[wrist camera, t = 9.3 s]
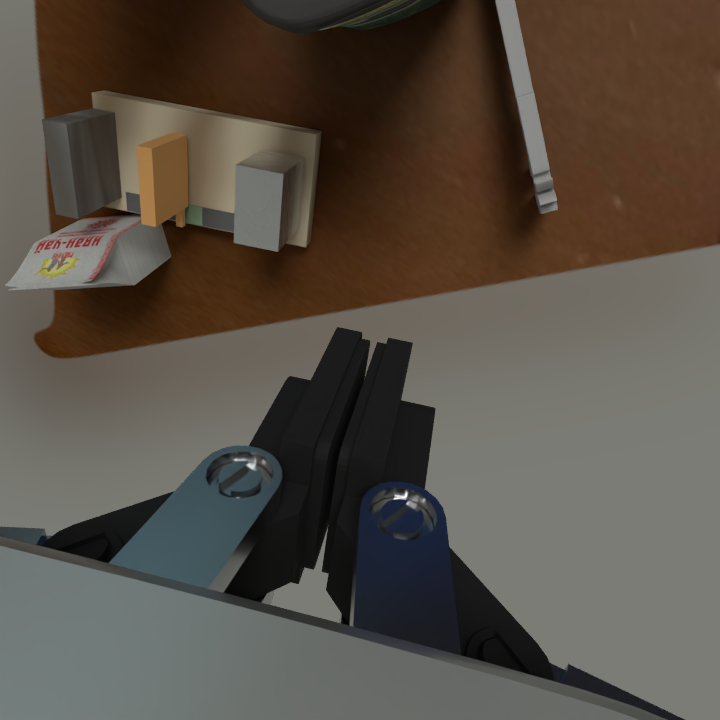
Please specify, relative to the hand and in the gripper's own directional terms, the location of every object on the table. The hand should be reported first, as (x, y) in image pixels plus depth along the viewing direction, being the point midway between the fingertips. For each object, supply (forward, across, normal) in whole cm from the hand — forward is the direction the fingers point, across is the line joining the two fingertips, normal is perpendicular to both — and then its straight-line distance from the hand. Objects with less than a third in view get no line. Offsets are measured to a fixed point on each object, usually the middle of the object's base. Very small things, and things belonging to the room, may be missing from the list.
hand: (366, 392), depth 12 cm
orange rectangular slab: (+28, +18, +5) cm, 34 cm away
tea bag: (+30, +24, +11) cm, 40 cm away
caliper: (+31, -2, -7) cm, 32 cm away
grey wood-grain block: (+28, +11, +4) cm, 30 cm away
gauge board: (+30, +17, +4) cm, 35 cm away
